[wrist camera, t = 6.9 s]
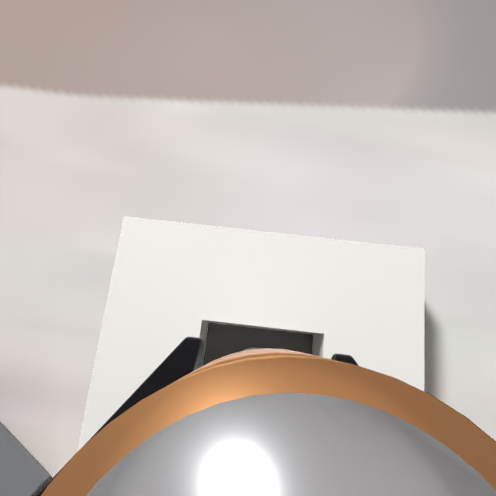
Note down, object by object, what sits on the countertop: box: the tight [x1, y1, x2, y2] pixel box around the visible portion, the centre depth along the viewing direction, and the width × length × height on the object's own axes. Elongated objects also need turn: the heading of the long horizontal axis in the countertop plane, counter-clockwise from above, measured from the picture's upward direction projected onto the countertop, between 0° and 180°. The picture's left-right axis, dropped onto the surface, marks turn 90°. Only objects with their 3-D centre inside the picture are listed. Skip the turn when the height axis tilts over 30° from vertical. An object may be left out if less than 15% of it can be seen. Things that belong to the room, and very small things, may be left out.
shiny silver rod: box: [41, 347, 496, 496], centre depth 9 cm, size 3×3×14 cm
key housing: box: [76, 216, 425, 453], centre depth 15 cm, size 12×12×2 cm
